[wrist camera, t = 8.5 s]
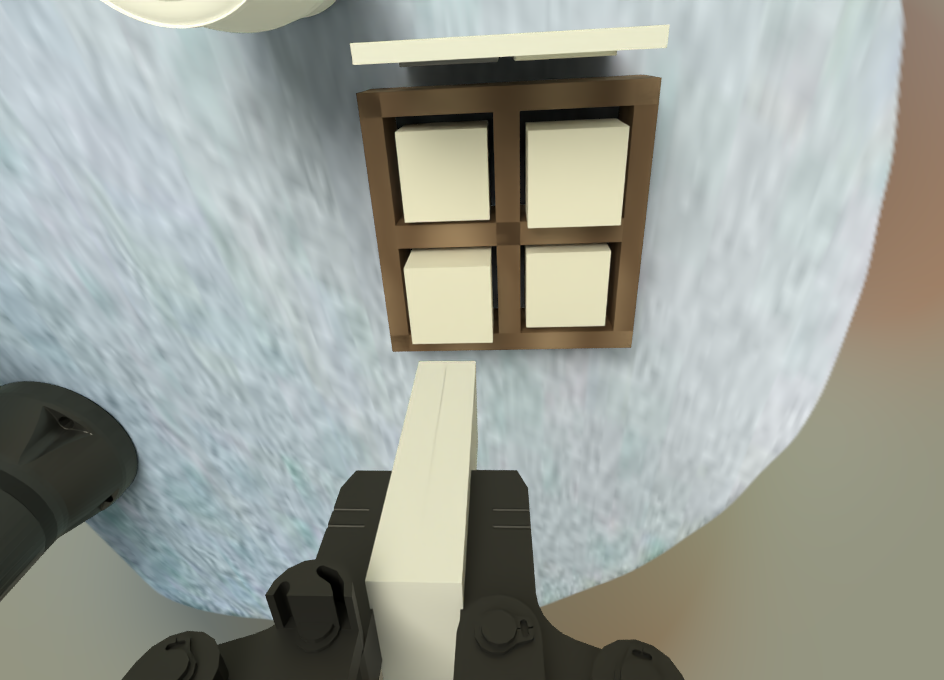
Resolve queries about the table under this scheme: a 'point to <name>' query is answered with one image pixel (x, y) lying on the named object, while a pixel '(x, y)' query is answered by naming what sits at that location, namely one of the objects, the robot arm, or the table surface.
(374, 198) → the board
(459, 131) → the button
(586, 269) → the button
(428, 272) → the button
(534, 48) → the card
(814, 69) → the table surface
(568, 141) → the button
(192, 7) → the jar
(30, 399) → the robot arm
